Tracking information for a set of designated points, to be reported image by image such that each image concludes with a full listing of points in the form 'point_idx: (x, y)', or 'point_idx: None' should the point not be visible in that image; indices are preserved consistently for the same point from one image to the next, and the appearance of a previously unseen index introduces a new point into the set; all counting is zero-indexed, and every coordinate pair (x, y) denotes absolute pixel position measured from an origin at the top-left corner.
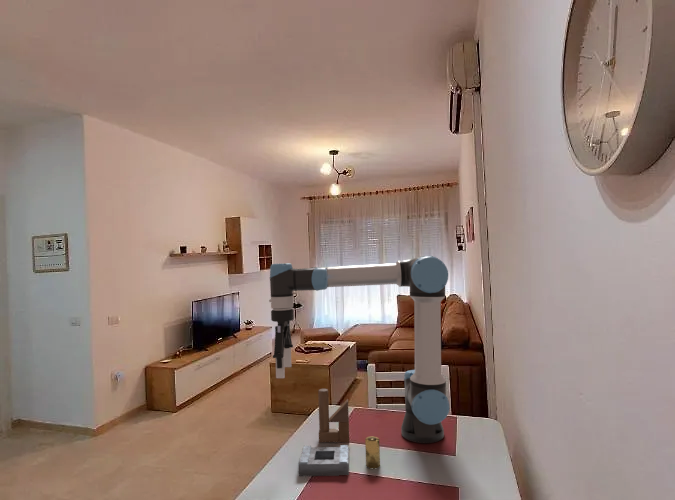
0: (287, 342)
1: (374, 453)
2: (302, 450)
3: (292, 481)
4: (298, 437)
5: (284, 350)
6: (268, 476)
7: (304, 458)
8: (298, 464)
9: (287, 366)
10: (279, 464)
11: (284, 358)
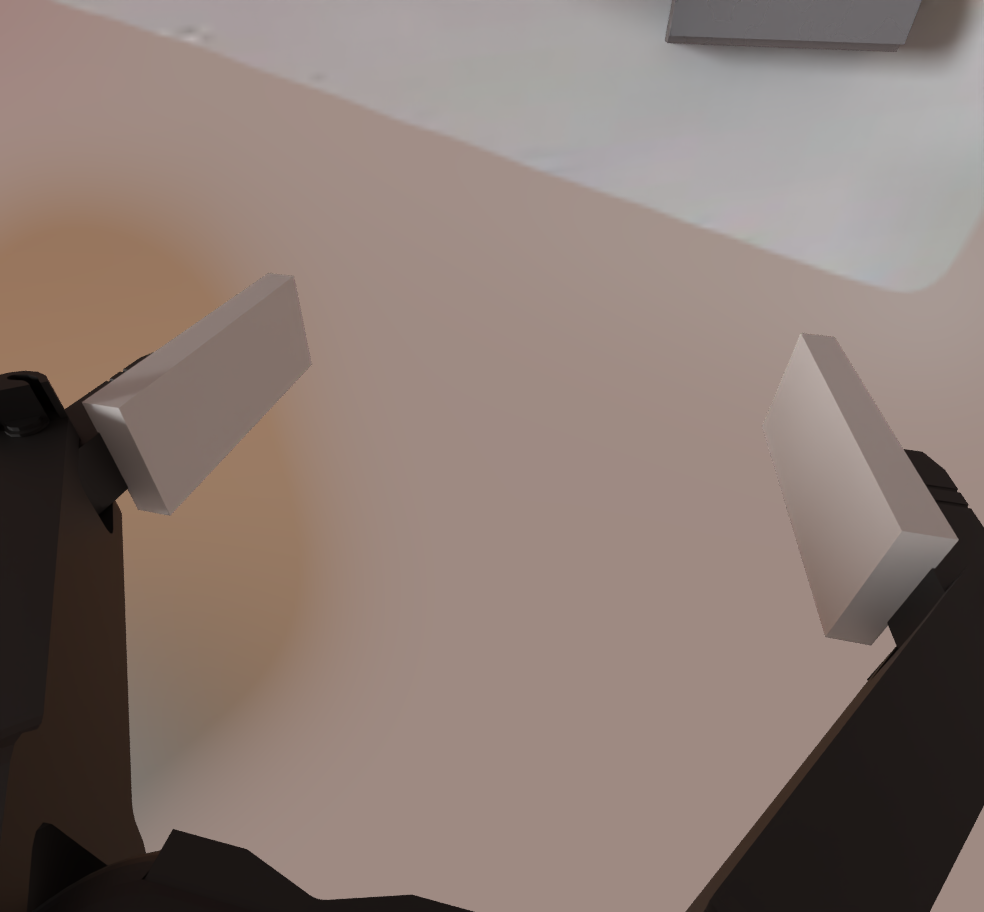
0: (82, 545)
1: None
2: (709, 41)
3: (916, 83)
4: (400, 103)
5: (182, 478)
6: (806, 224)
7: (865, 8)
8: (896, 50)
9: (299, 324)
10: (699, 182)
11: (252, 408)
